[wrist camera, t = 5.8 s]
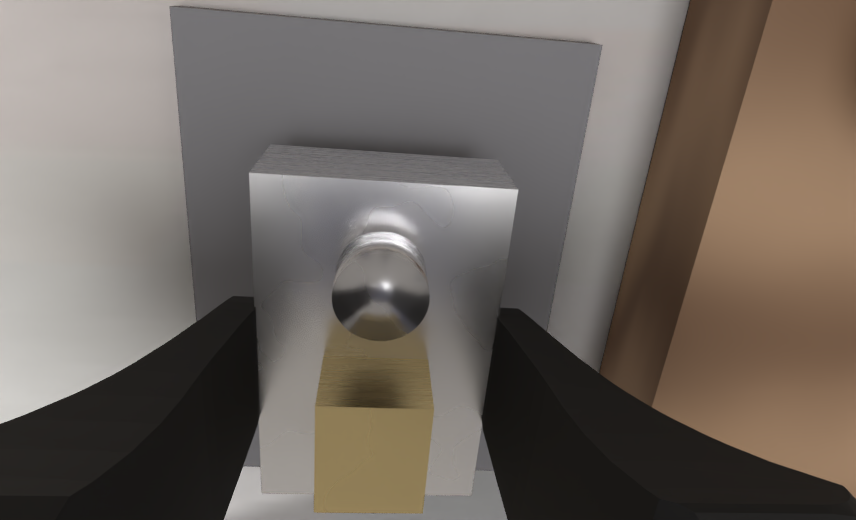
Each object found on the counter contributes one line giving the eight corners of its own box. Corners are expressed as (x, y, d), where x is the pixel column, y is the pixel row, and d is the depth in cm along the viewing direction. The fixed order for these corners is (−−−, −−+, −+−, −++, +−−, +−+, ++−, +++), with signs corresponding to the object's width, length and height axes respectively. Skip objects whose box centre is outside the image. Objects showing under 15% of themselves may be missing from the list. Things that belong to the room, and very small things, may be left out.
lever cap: (460, 433, 15) (481, 555, 11) (277, 429, 14) (246, 554, 11) (497, 160, 12) (539, 220, 9) (270, 144, 11) (226, 202, 8)
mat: (515, 456, 18) (519, 470, 17) (214, 450, 17) (208, 465, 17) (593, 43, 13) (602, 45, 13) (179, 5, 12) (169, 6, 12)
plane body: (769, 508, 20) (952, 752, 13) (566, 505, 19) (658, 761, 13) (996, -17, 13) (1566, -28, 7) (701, -49, 13) (1029, -95, 6)
